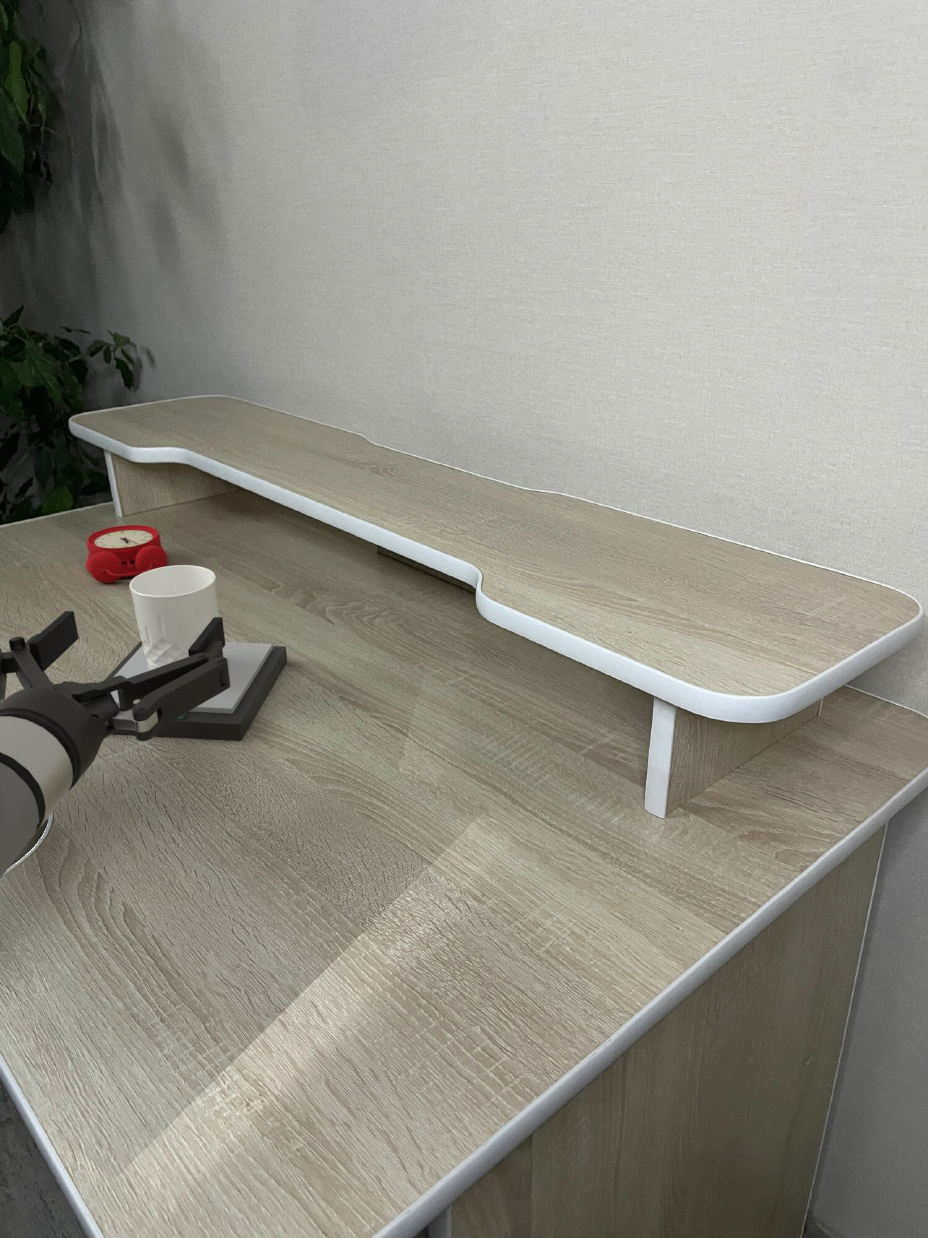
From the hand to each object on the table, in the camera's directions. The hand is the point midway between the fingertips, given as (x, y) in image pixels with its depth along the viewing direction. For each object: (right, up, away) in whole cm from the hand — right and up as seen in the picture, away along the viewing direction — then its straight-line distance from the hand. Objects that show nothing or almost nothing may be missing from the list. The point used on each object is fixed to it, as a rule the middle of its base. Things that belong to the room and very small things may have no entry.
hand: (145, 627), depth 84 cm
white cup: (+1, -5, +9) cm, 11 cm away
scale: (+1, -7, +10) cm, 12 cm away
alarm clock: (-16, +7, +41) cm, 45 cm away
